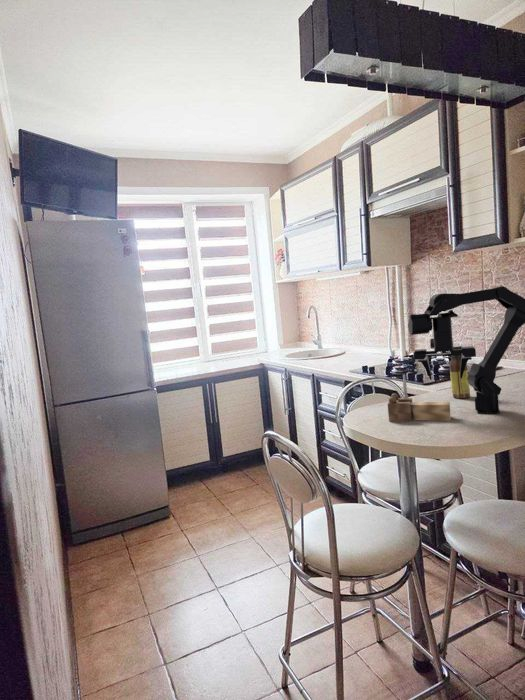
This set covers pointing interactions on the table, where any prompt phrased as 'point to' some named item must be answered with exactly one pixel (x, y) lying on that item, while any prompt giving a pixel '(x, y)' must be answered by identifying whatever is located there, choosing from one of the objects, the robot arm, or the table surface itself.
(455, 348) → the sauce bottle
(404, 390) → the tow hook
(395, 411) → the arched block with knobs
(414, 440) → the table surface
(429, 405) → the bed rail
